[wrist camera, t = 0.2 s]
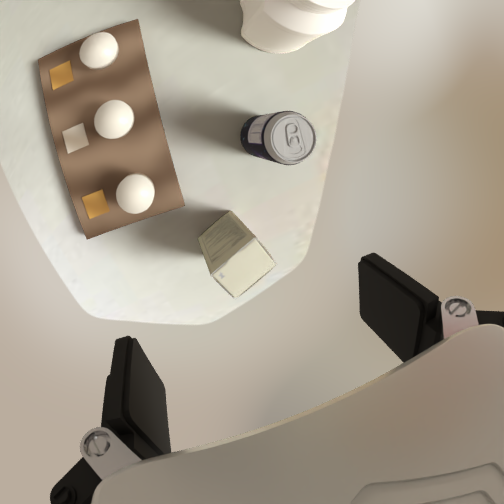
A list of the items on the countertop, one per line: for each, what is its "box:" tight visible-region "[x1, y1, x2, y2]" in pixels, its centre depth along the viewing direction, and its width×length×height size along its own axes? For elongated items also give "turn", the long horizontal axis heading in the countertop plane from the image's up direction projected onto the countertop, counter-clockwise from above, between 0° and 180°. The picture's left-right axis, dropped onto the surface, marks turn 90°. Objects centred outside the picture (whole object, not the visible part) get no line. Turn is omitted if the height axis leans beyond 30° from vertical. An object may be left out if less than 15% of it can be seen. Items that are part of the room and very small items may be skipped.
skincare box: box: [198, 211, 277, 299], centre depth 37 cm, size 6×4×12 cm
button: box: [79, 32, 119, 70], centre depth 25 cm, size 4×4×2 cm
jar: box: [240, 0, 355, 54], centre depth 25 cm, size 12×10×15 cm
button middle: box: [94, 100, 134, 139], centre depth 28 cm, size 4×4×2 cm
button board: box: [38, 19, 185, 239], centre depth 32 cm, size 26×14×2 cm, turn 13°
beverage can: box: [241, 111, 316, 165], centre depth 33 cm, size 6×6×12 cm
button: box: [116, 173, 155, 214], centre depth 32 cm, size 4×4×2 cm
